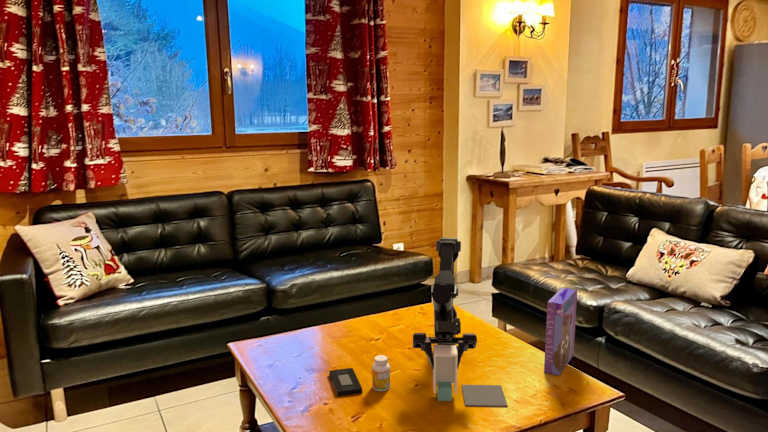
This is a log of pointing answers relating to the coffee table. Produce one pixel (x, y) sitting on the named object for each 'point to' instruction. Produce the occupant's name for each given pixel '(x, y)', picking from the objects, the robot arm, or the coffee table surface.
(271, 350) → the coffee table surface
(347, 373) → the vhs tape
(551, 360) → the cereal box
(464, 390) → the mat
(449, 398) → the teal cube
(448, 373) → the white boxy piece
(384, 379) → the supplement bottle
